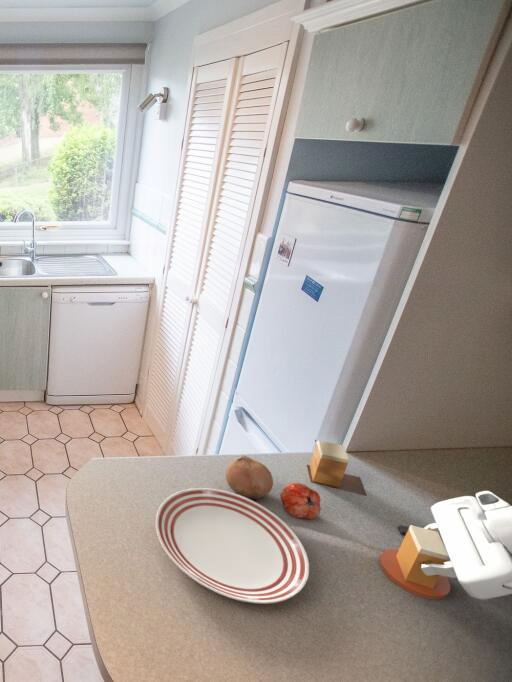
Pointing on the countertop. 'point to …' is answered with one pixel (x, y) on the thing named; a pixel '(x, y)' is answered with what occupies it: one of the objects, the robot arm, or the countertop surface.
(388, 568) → the coaster
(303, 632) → the countertop surface
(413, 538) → the cake slice
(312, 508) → the pomegranate
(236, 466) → the onion
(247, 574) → the dinner plate
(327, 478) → the loaf cake
